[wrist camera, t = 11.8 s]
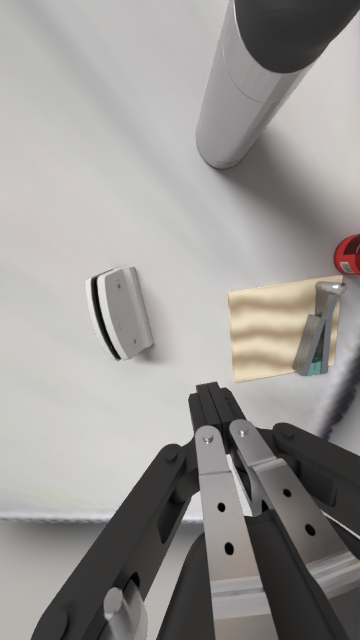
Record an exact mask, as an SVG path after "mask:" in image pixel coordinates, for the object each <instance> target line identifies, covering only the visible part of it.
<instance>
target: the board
mask: <svg viewBox="0 0 360 640" xmlns="http://www.w3.org/2000/svg"><path fill="white" fill-rule="evenodd" d="M342 279H343V275H333V276H326V277H320V278H313V279H307V280H301V281H294V282H288V283H282V284H275V285H269V286H263V287H256V288H250V289H244V290H237V291H231V292H228V303H229V318H230V332H231V347H232V361H233V375H234V381H235V382H236V383H237V382H243V381H248V380H254V379H259V378H265V377H270V376H276V375H281V374H287V373H292V372H296V371H295V370H294V369H292V367H293V364H294V360H295V357H296V354H297V351H298V347H299V344H300V341H301V338H302V334H303V331H304V328H305V325H306V321H307V318H308V315H309V314H315V298H316V289H315V284H316V283H317V282H318V281H326V282H336V283H342ZM335 296H339V298H338V301H337V304H336V307H335V310H334V312H333V317H332V328H331V339H330V350H329V361H328V366H330V365H334V359H335V349H336V339H337V329H338V319H339V309H340V299H341V294H335Z"/></svg>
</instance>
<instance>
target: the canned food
mask: <svg viewBox="0 0 360 640" xmlns="http://www.w3.org/2000/svg"><path fill="white" fill-rule="evenodd" d="M334 263H335V266H336V268H337V269H338V270H339V271H341V272H343V273H346V274H354V275H360V234H358V235H353V236H351V237H348V238H347V239H345V240H343V241H342V242H341V243H340V244H339V245H338V247H337V248H336V251H335V254H334Z"/></svg>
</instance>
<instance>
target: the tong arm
mask: <svg viewBox="0 0 360 640" xmlns="http://www.w3.org/2000/svg"><path fill="white" fill-rule="evenodd" d="M338 298H339V296H335V295H329V296H328V299H327V302H326V305H325V308H324V311H323V314H322V317H321V316H318V315H314V314H309V315H308V318H307V321H306V325H305V328H304V331H303V334H302V338H301V341H300V344H299V347H298V351H297V354H296V357H295V360H294V364H293V367H292V369H294V370H295V371H296V372H297V373H299V374H300V375H302V376H307V375H309V376H312V373H313V371H314V368H315V365H316V363H315V362H313V361H312V359H313V357H314V354H315V351H316V348H317V345H318V342H319V339H320V336H321V333H322V330H323V327H324V324H325V321H326V319H328V320H331V318H332V315H333V312H334V310H335V307H336V304H337V301H338Z"/></svg>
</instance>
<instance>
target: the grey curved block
mask: <svg viewBox="0 0 360 640" xmlns="http://www.w3.org/2000/svg"><path fill="white" fill-rule="evenodd" d="M86 295H87V302H88V308H89V313H90V316H91V320H92V323H93V326H94V329H95V332H96V334H97V337H98V339H99V341H100V343H101V345H102V347H103V348H104V350H105V352H106V353H107V355H108V356H109V357H110V359H112V360H116V361H119V360H121V359H122V360H128V359H131V358H133V357H134V356H135V355H137V354H138V353H139V352H141V351H142V350H143V349H145V348H147V347H150V346H151V345H152V344H153V339H152V335H151V331H150V327H149V323H148V319H147V315H146V311H145V307H144V303H143V299H142V295H141V292H140V288H139V284H138V280H137V276H136V272H135V268H134V267H119V268H116V269H114V270H113V269H111V270H109V271H106V272H104V273H101V274H99V275H96V276H94V277H92V278H90V279H88V280H87V281H86Z"/></svg>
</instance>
